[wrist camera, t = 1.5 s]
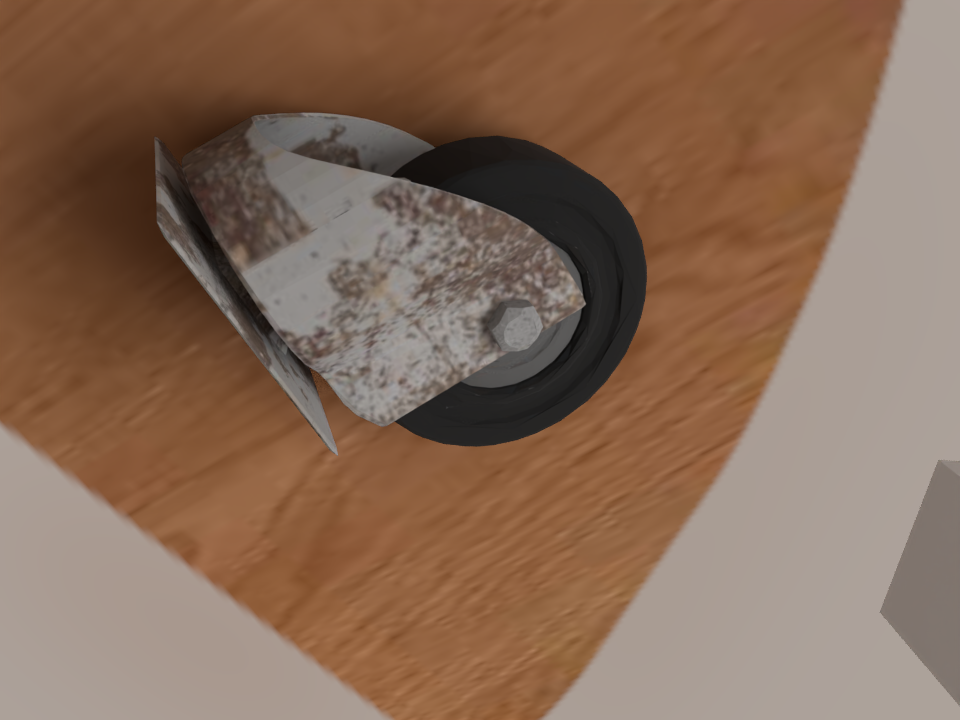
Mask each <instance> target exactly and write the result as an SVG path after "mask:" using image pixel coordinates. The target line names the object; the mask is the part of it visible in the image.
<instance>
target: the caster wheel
mask: <svg viewBox="0 0 960 720" xmlns="http://www.w3.org/2000/svg"><path fill="white" fill-rule="evenodd" d="M155 167H156V202H157V224H158V226H159V228H160V230H161V232H162V234H163V236H164V238H165V239H166V240H167V241H168V243H169V244H170V245H171V247H172V248H173V249H174V250H175V252H176V253H177V254H178V256H179V257H180V258H181V259H182V261H183V262H184V263H185V265H186V266H187V267H188V268H189V270H190V271H191V272H192V274H193V275H194V276H195V277H196V279H197V280H198V281H199V283H200V284H201V285H202V286H203V288H204V289H205V290H206V292H207V293H208V294H209V295H210V297H211V298H212V299H213V301H214V302H215V303H216V304H217V306H218V307H219V308H220V310H221V311H222V312H223V313H224V315H225V316H226V317H227V319H228V320H229V321H230V322H231V324H232V325H233V326H234V328H235V329H236V330H237V331H238V333H239V334H240V335H241V337H242V338H243V339H244V340H245V342H246V343H247V344H248V346H249V347H250V348H251V349H252V351H253V352H254V353H255V355H256V356H257V357H258V358H259V360H260V361H261V362H262V364H263V365H264V366H265V367H266V369H267V370H268V371H269V373H270V374H271V375H272V376H273V378H274V379H275V380H276V382H277V383H278V384H279V385H280V387H281V388H282V389H283V391H284V392H285V393H286V394H287V396H288V397H289V398H290V400H291V401H292V402H293V403H294V405H295V406H296V407H297V409H298V410H299V411H300V412H301V414H302V415H303V416H304V418H305V419H306V420H307V421H308V423H309V424H310V425H311V427H312V428H313V429H314V430H315V432H316V433H317V434H318V436H319V437H320V438H321V439H322V441H323V442H324V443H325V445H326V446H327V447H328V448H329V450H330V451H332V452H333V453H335V454H336V455H337V456H338V453H337V448H336V445H335V442H334V439H333V436H332V433H331V430H330V427H329V424H328V421H327V418H326V415H325V412H324V410H323V407H322V404H321V401H320V398H319V395H318V392H317V389H316V386H315V383H314V380H313V377H312V374H311V371H310V368H309V367H311V368H312V369H314V370H315V371H317V372H318V373H319V374H320V375H321V376H322V377H323V378H324V379H325V380H326V381H327V382H328V383H329V385H330V386H331V387H332V389H333V390H334V391H335V393H336V394H337V395H338V397H339V398H340V399H341V401H342V402H343V403H344V404H345V405H346V406H347V407H348V408H349V409H350V410H351V411H353V412H354V413H355V414H356V415H358V416H360V417H362V418H364V419H366V420H368V421H371V422H373V423H375V424H377V425H379V426H381V427H383V426H387V425H389V424H391V423H392V422H394V421H395V422H396V423H398V424H399V425H401V426H403V427H404V428H406V429H408V430H409V431H411V432H412V433H414V434H416V435H418V436H421V437H423V438H426V439H430V440H433V441H436V442H439V443H443V444H450V445H459V446H488V445H496V444H501V443H505V442H510V441H515V440H518V439H521V438H524V437H527V436H530V435H532V434H535V433H537V432H539V431H541V430H543V429H545V428H547V427H549V426H551V425H553V424H555V423H557V422H559V421H561V420H562V419H564V418H565V417H566V416H568V415H569V414H570V413H572V412H573V411H574V410H576V409H577V408H578V407H580V406H581V405H582V404H584V403H585V402H587V401H588V400H589V399H590V398H591V397H592V396H593V395H594V394H595V392H596V391H597V390H598V389H599V388H600V387H601V386H602V385H603V384H604V383H605V382H606V381H607V380H608V378H609V377H610V375H611V374H612V373H613V371H614V370H615V369H616V367H617V366H618V365H619V363H620V361H621V360H622V358H623V357H624V355H625V354H626V352H627V350H628V348H629V345H630V343H631V341H632V339H633V337H634V335H635V332H636V330H637V327H638V324H639V321H640V318H641V315H642V310H643V306H644V302H645V294H646V282H647V266H646V260H645V255H644V250H643V244H642V240H641V238H640V235H639V233H638V230H637V228H636V225H635V223H634V220H633V218H632V216H631V215H630V213H629V212H628V211H627V209H626V208H625V207H624V205H623V204H622V202H621V201H620V200H619V198H618V197H617V196H616V195H615V194H614V193H613V192H612V191H611V190H610V189H608V188H607V187H606V186H605V185H604V184H603V183H602V182H601V181H599V180H598V179H596V178H595V177H593V176H591V175H590V174H588V173H587V172H585V171H584V170H582V169H580V168H579V167H577V166H576V165H574V164H573V163H571V162H569V161H568V160H566V159H565V158H563V157H562V156H560V155H558V154H556V153H554V152H552V151H550V150H548V149H546V148H544V147H542V146H540V145H537V144H534V143H532V142H529V141H526V140H521V139H515V138H508V137H502V136H488V137H475V138H466V139H463V140H459V141H455V142H451V143H447V144H444V145H441V146H438V147H436V148H435V147H433V146H432V145H430V144H428V143H427V142H425V141H423V140H421V139H419V138H417V137H415V136H413V135H411V134H409V133H407V132H405V131H402V130H400V129H397V128H394V127H392V126H389V125H387V124H383V123H379V122H376V121H372V120H368V119H364V118H358V117H352V116H347V115H337V114H327V113H282V114H268V115H256V116H252V117H250V118H248V119H246V120H245V121H243V122H241V123H239V124H238V125H236V126H234V127H232V128H231V129H229V130H227V131H226V132H224V133H222V134H220V135H219V136H217V137H215V138H213V139H212V140H210V141H208V142H206V143H205V144H203V145H201V146H199V147H198V148H196V149H194V150H193V151H191V152H189V153H187V154H186V155H185V156H184V157H183V158H182V168H181V166H180V165H179V164H178V162H177V161H176V159H175V158H174V157H173V155H172V154H171V152H170V151H169V150H168V148H167V147H166V145H165V144H164V143H163V142H162V141H161V140H160V139H159V138H157V137H155Z"/></svg>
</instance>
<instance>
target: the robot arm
mask: <svg viewBox="0 0 960 720" xmlns="http://www.w3.org/2000/svg"><path fill="white" fill-rule="evenodd" d="M880 613H881V614H882V615H883V616H884V618H885V619H886V620H887V621H888V622H889V623H890V624H891V626H892V627H893V628H894V629H895V631H896V632H897V633H898V634H899V635H900V636H901V638H902V639H903V640H904V641H905V642H906V643H907V645H908V646H909V647H910V648H911V649H912V650H913V652H914V653H915V654H916V655H917V656H918V657H919V659H920V660H921V661H922V662H923V663H924V665H925V666H926V667H927V668H928V669H929V670H930V671H931V673H932V674H933V675H934V676H935V677H936V679H937V680H938V681H939V682H940V683H941V684H942V686H943V687H944V688H945V689H946V690H947V692H948V693H949V694H950V695H951V696H952V697H953V699H954V700H955V701H956V702H957V703H958V704H959V706H960V461H947V460H939V461H938V463H937V465H936V468H935V471H934V473H933V476H932V478H931V481H930V484H929V486H928V489H927V491H926V494H925V496H924V499H923V502H922V504H921V507H920V510H919V512H918V515H917V517H916V520H915V522H914V525H913V528H912V530H911V533H910V535H909V538H908V541H907V543H906V546H905V548H904V551H903V554H902V556H901V559H900V561H899V564H898V566H897V569H896V572H895V574H894V577H893V579H892V582H891V585H890V587H889V590H888V593H887V595H886V597H885V600H884V603H883V606H882V608H881V611H880Z"/></svg>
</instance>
